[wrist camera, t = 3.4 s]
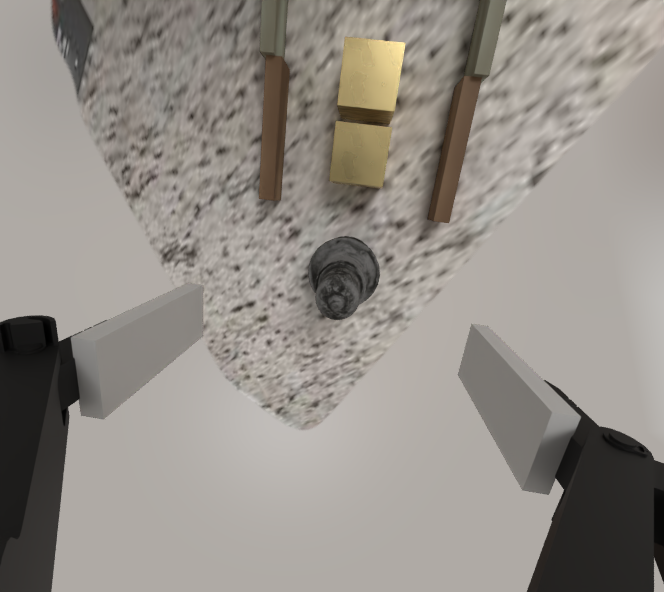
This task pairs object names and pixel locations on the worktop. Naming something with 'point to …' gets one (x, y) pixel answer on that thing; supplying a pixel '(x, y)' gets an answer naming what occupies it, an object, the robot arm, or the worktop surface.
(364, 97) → the chip
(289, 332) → the worktop surface
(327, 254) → the salt shaker
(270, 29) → the frame
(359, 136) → the tan wooden cube
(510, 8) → the worktop surface
